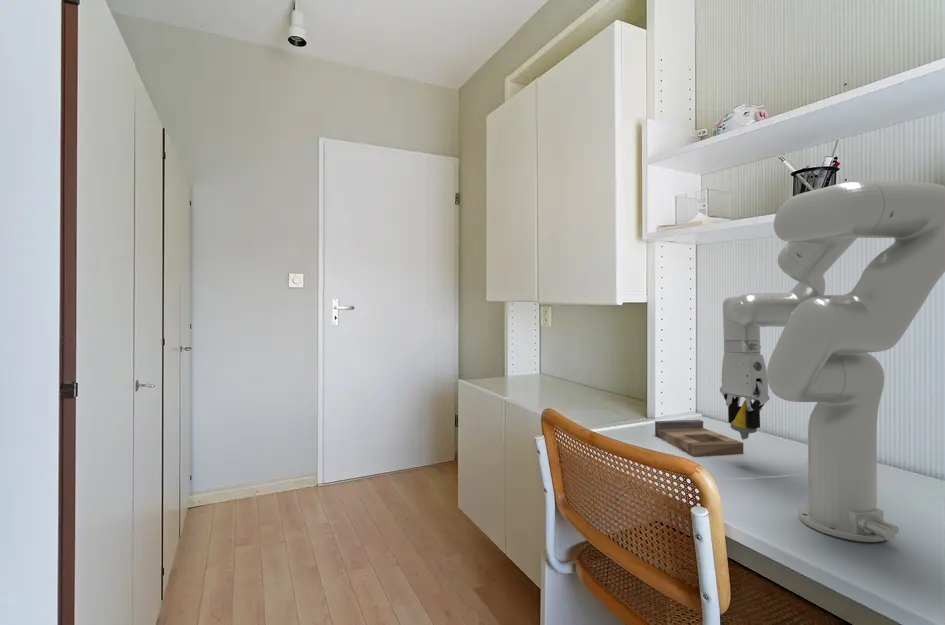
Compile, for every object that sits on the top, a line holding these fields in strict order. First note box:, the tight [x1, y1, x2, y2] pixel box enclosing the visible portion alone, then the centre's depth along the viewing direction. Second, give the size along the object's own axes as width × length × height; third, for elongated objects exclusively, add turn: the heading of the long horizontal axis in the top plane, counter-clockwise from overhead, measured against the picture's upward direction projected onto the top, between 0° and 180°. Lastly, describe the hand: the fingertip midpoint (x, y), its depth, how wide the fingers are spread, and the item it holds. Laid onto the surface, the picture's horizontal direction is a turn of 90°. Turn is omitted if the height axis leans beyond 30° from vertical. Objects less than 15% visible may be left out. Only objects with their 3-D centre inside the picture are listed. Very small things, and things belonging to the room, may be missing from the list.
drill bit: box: [729, 400, 758, 441], centre depth 109 cm, size 5×5×10 cm
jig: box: [654, 419, 744, 458], centre depth 127 cm, size 18×14×5 cm
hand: (743, 424), depth 109 cm, fingers closed on drill bit, 5 cm apart
